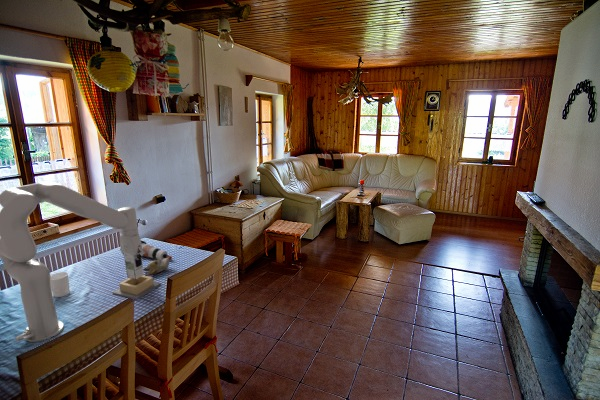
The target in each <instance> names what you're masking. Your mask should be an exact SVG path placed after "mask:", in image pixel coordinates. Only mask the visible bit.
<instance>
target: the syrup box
mask: <svg viewBox="0 0 600 400" xmlns="http://www.w3.org/2000/svg"><path fill="white" fill-rule="evenodd" d="M137 256H139V255H138V254H137ZM123 257H124V264H125V270H126V271H125V272H126V277H127V278H126V279H128V278H132V279H138V278H139V277H141V276H143V275H144V276H145V272H144V271H143V269H144V266H143V263H142V265H141V266H139V267H136V262H135V260H136V258H135V255H130V254H129V253H125V252H124V255H123ZM141 260H142V261H143V257H142V258H141Z"/></svg>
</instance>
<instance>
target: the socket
mask: <svg viewBox="0 0 600 400" xmlns="http://www.w3.org/2000/svg"><path fill="white" fill-rule="evenodd" d="M161 285H162V283H161V282H160V281H154V277H151V276H145V274H144V275H143V276H141V277H139V278H138V279H132V278H126V279H125V280H124V281H123V280H122V281H121V282H119V285H118V286H119V287H118V288H117V289H115V290H114V291H112V292H111V293H112V294H113V295H115V296H120V297H123V298H127V299H130V298H134V299H133V301H135V300H136V301H138V300H139V299H141V298H143V297H144V296H145V295H148V294H149V293H150V292H152V291H154V290H155V289H156V288H158V287H160V286H161ZM129 297H130V298H129Z"/></svg>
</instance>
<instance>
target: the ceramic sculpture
mask: <svg viewBox="0 0 600 400" xmlns="http://www.w3.org/2000/svg"><path fill="white" fill-rule="evenodd" d="M169 265H170V259H169V257H168V258H165V259H163V260H160V259H158V258H156V259H155V258H154V260H152V261H150V262H149V263H148V264H147V266H146V267H143V271H145V272H147V273H146V274H144V276H148V277H151V276H153V275H155V274H157V273H160V272H162V271H168V268H169Z"/></svg>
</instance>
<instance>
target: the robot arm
mask: <svg viewBox="0 0 600 400" xmlns="http://www.w3.org/2000/svg"><path fill="white" fill-rule="evenodd" d="M45 202H46V203H48V204H50V205H53V206H55V207H58V208H61V209H63V210H65V211H68V212H71V213H73V214H75V215H77V216H79V217H83V218H85V219H89V220H93V221H96V222H99V223H100V224H102V225H104V226H106V227H109V228H112V229H115V230H120V233H121V234H120V235H119V246H120V247H119V251H120V253H122V255H123V256H124V252H125V253H129V254H130V255H135V258H136V260H135V262H136V267H139V266H141V265H142V264H143V257H144V256H143V255H144V254H145V252H144V251H143V250H142V244H141V241H142V240H141V237H140V234H139V226H138V219H137V210H136V208H135V207H133V206H124V207H120V208H116V209H115V208H112V207H110V206H108V205H106V204H104V203H101V202H99V201H98V200H95V199H93V198H91V197H89V196H86V195H84V194H82V193H80V192H78V191H76V190H73V188H70V187H67V186H65V185H63V184H60V183H57V182H53V181H40V182H36V183H30V184H26V185H21V186H16V187H10V188H7V189H4V190H3V191H2V192H1V193H0V206H1V207H2V208H1V210H0V259H1V262H2V264H3V266H4V269H5V271H6V272H7V274H8V275H9V276H10V277H11V278H12V279H13V280H14V281H16V282H17V283H18V284H19V286H20V298H21V303H22V306H23V310H24V314H25V318H26V319H25V320H26V323H27V327H25V331H24V332H23V333H22V334H19V335H18V336H15V338H14V339H15V340H14V341H16V342H17V343H18V342H20V341H21V340H23V341H24V342H25V341H28V342H30V343H37V342H38V343H39V342H43V340H44V341H46V339H47V340H49V339H52V338H54V337H55V336H57V335H59V334H60V333H61V332H62V331H63V330H64V327H65V326H64V325H65V324H64V323H63V322H62V321H60V320H59V319H58V314H57V310H56V305H55V300H54V296H53V292H52V290H51V283H50V276H51V271H50V269H49V268H48V267H47V265H45V264H44V263H43V262H42V261H39V260H37V259H35V257H36V255H37V252H38V247H37V244H36V242H35V240H34V238H33V235H32V233H31V230H30V228H29V225H28V219H29V217H30V215H31V214H32V213H33V211H35V209H36V208H37V205H38V204H42V203H45ZM137 254H138V255H139V256H137ZM141 258H142V260H141ZM53 336H54V337H53ZM51 337H52V338H51ZM48 338H49V339H48Z"/></svg>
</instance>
